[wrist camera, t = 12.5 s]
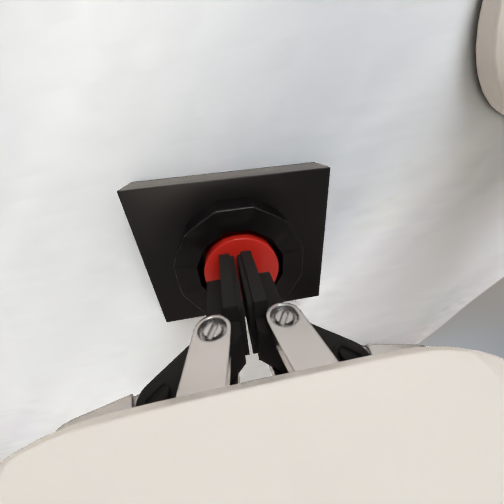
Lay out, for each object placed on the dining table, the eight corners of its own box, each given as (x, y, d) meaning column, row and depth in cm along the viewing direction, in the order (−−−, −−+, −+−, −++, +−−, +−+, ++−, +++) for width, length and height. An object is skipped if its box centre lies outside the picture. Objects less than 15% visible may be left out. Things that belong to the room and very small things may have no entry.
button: (269, 220, 12) (278, 233, 11) (272, 278, 14) (279, 295, 13) (198, 230, 12) (197, 244, 10) (211, 287, 14) (211, 307, 12)
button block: (314, 162, 14) (348, 172, 10) (307, 278, 18) (330, 313, 15) (130, 182, 13) (100, 201, 9) (171, 301, 17) (161, 344, 14)
